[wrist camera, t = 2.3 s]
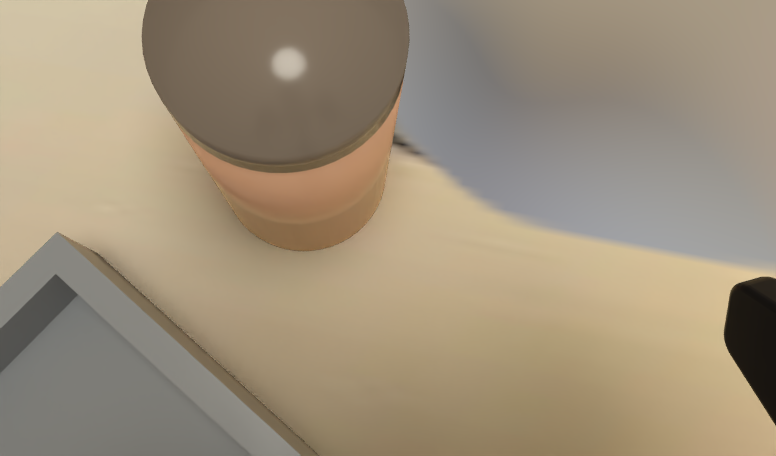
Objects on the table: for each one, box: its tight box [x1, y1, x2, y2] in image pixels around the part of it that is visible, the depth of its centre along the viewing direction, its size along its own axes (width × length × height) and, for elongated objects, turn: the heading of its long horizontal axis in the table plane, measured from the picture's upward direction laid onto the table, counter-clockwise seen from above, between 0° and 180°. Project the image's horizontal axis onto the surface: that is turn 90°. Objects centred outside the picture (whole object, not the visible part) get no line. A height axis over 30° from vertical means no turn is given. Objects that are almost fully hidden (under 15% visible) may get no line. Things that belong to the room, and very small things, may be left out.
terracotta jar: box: [142, 0, 409, 251], centre depth 18 cm, size 5×5×9 cm
